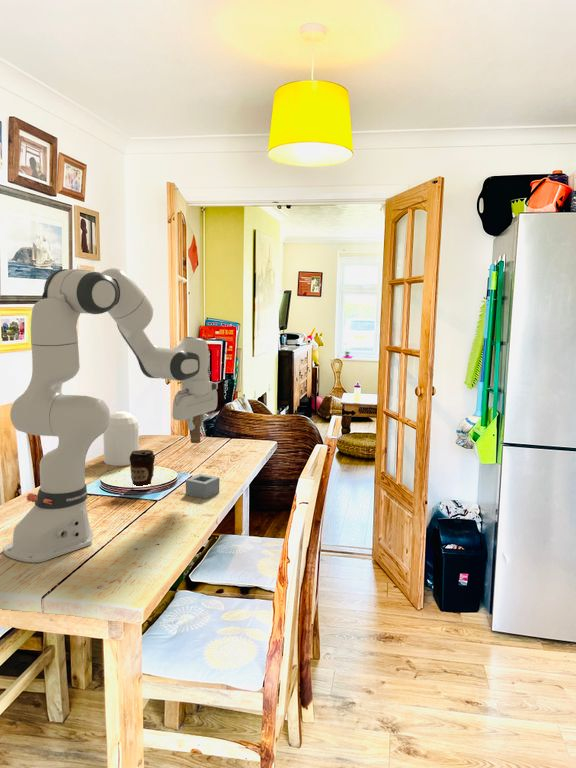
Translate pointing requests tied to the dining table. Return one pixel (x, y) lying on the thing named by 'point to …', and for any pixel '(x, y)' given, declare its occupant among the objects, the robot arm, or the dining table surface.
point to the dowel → (196, 430)
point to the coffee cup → (142, 467)
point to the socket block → (202, 486)
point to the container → (120, 438)
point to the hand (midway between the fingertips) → (195, 428)
